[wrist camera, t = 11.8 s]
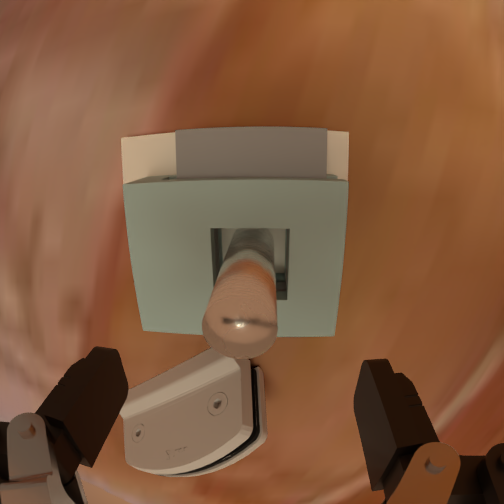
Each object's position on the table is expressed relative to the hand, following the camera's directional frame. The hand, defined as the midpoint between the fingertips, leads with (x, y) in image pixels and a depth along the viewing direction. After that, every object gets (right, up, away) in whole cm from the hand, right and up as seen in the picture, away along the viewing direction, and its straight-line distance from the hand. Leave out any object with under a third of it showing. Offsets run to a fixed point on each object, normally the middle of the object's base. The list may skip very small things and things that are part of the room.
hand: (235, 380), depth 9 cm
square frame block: (-1, +6, +14) cm, 15 cm away
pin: (+1, +5, +13) cm, 14 cm away
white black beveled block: (-6, -10, +20) cm, 23 cm away
